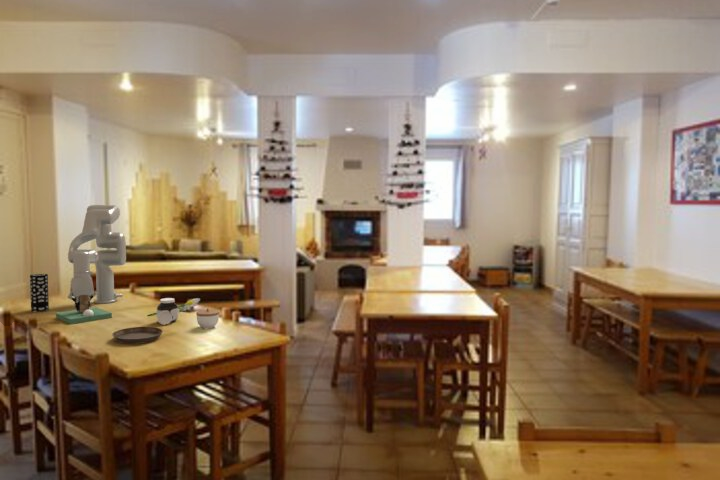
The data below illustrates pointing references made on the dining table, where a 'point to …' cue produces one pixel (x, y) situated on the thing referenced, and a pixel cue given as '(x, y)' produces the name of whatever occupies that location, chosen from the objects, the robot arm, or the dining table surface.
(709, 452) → the dining table surface
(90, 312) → the ball
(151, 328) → the plant saucer
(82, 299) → the brown block
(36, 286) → the spotted tube
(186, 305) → the decorative flower
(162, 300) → the spread jar
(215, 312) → the lidded jar
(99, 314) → the putting mat
